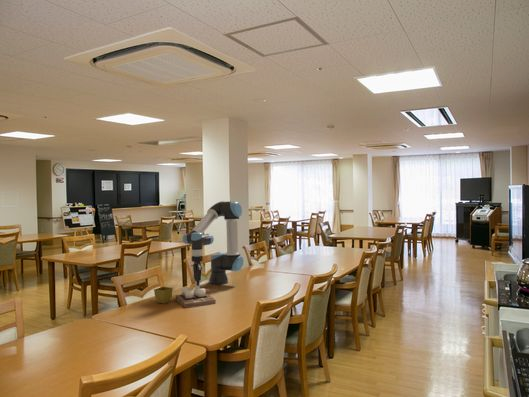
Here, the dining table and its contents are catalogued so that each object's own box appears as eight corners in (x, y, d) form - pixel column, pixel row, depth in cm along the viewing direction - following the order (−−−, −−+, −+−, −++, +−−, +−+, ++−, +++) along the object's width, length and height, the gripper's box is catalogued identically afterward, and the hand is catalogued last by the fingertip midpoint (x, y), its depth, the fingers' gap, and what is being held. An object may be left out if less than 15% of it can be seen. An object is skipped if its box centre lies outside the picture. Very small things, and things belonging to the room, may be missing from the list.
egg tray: (175, 298, 265) (175, 294, 265) (203, 295, 274) (203, 291, 274) (185, 307, 243) (185, 303, 243) (215, 303, 253) (215, 299, 253)
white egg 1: (180, 293, 264) (180, 287, 264) (188, 292, 267) (188, 286, 267) (183, 295, 259) (182, 289, 259) (191, 294, 262) (191, 288, 262)
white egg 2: (192, 296, 268) (192, 289, 268) (200, 295, 270) (200, 289, 270) (194, 298, 263) (194, 291, 263) (202, 296, 266) (202, 290, 265)
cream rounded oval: (184, 296, 257) (183, 290, 257) (192, 295, 260) (192, 289, 260) (186, 298, 252) (186, 292, 252) (194, 297, 255) (194, 291, 255)
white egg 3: (195, 295, 261) (195, 288, 261) (203, 294, 263) (203, 287, 263) (198, 297, 256) (198, 290, 256) (206, 296, 258) (206, 289, 258)
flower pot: (153, 303, 254) (153, 289, 254) (163, 299, 262) (162, 286, 262) (164, 304, 250) (163, 290, 250) (173, 301, 258) (173, 287, 258)
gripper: (188, 254, 271) (189, 288, 271) (194, 257, 259) (194, 292, 259) (199, 253, 274) (199, 287, 274) (205, 256, 262) (205, 291, 263)
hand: (197, 290), depth 267 cm, fingers closed
